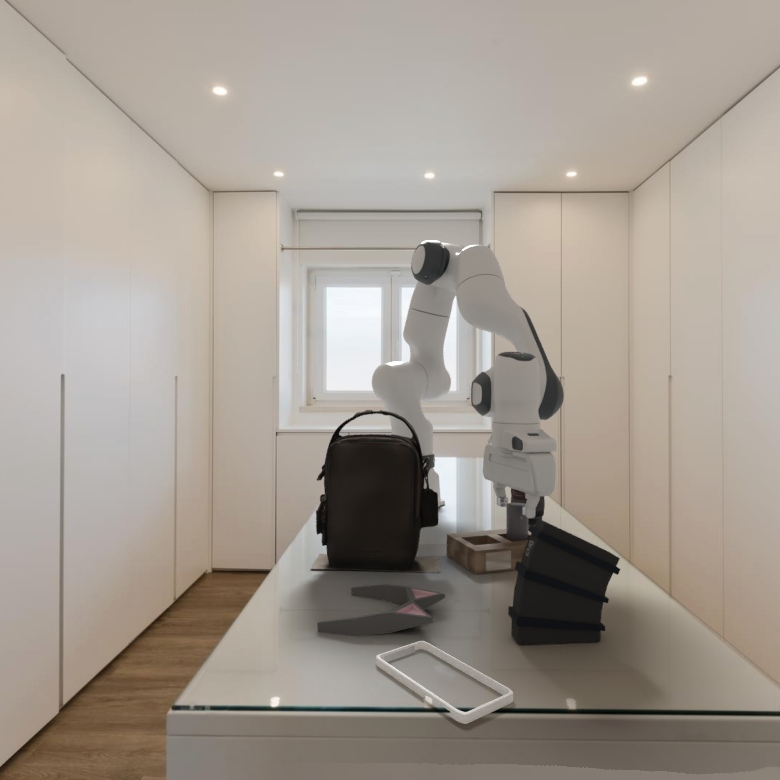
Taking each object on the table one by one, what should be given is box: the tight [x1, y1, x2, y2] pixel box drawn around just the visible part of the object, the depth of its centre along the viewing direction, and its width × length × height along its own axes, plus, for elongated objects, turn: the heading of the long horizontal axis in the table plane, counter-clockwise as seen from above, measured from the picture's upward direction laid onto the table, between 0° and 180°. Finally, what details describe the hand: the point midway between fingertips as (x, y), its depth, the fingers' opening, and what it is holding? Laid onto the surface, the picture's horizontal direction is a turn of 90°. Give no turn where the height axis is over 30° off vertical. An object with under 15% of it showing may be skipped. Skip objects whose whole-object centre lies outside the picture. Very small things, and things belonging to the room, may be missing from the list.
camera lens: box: [510, 488, 546, 525], centre depth 136 cm, size 8×8×15 cm
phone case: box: [375, 640, 514, 725], centre depth 62 cm, size 7×1×15 cm
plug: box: [505, 502, 529, 542], centre depth 107 cm, size 4×4×10 cm
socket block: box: [446, 528, 531, 575], centre depth 105 cm, size 12×16×4 cm
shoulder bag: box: [310, 409, 441, 574], centre depth 103 cm, size 23×9×28 cm, turn 87°
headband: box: [317, 583, 446, 637], centre depth 79 cm, size 14×3×15 cm
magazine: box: [507, 519, 621, 646], centre depth 72 cm, size 4×13×15 cm, turn 95°
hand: (515, 511), depth 107 cm, fingers open, 8 cm apart
